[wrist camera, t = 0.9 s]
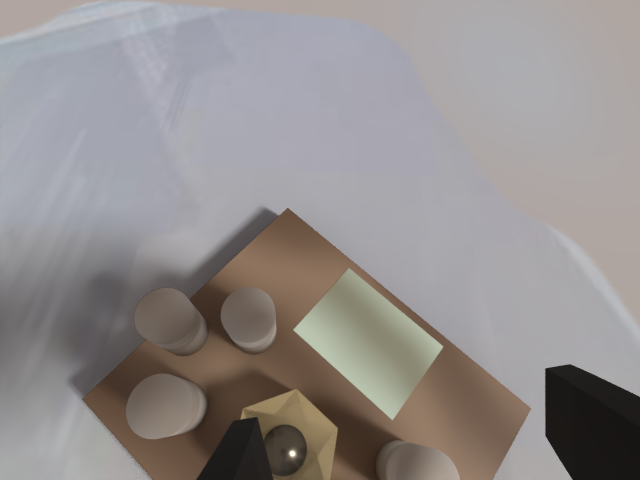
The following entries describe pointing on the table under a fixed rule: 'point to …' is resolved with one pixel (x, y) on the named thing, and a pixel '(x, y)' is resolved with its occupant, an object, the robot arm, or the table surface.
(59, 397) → the table surface
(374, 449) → the board
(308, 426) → the nut
